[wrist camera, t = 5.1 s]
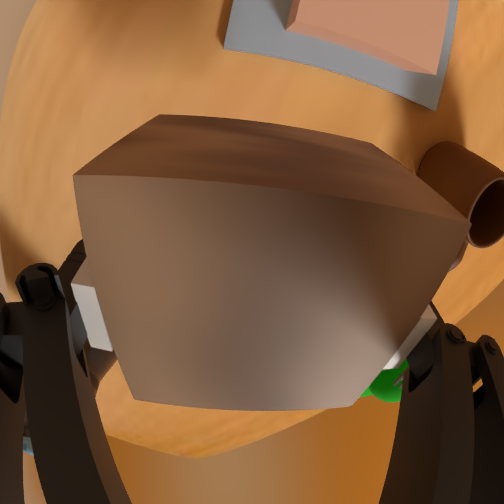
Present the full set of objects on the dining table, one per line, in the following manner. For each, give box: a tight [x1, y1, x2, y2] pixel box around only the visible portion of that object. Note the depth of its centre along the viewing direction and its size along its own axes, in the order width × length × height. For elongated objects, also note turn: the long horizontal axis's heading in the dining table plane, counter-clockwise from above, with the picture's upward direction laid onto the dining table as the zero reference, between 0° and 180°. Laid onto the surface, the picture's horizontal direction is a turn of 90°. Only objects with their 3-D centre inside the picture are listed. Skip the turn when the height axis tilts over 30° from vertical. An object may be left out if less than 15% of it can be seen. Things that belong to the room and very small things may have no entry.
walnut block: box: [73, 115, 472, 411], centre depth 11 cm, size 9×9×7 cm
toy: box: [360, 359, 409, 402], centre depth 31 cm, size 9×9×15 cm
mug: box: [418, 142, 504, 272], centre depth 23 cm, size 12×8×9 cm, turn 156°
